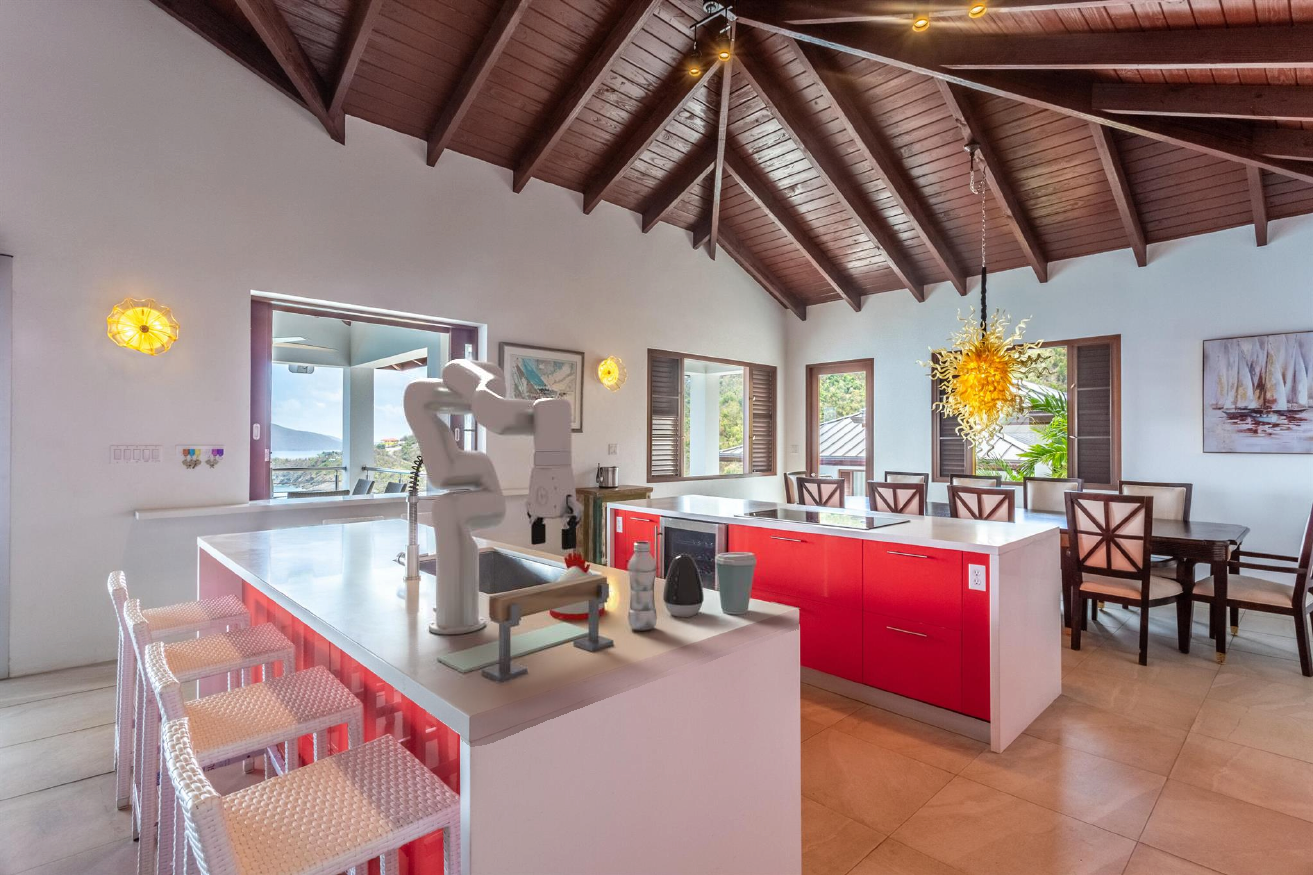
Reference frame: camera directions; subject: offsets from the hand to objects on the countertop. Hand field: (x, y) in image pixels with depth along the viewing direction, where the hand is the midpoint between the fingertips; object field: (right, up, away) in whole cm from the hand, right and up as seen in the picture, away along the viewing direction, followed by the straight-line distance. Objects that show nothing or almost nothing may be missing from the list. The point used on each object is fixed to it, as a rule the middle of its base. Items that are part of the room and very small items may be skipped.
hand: (553, 546), depth 121 cm
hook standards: (0, -22, 0) cm, 22 cm away
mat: (-8, -23, +7) cm, 25 cm away
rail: (0, -12, 0) cm, 12 cm away
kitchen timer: (0, -23, +33) cm, 41 cm away
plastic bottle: (+17, -23, +19) cm, 35 cm away
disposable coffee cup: (+41, -23, +34) cm, 58 cm away
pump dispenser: (+27, -23, +32) cm, 48 cm away
